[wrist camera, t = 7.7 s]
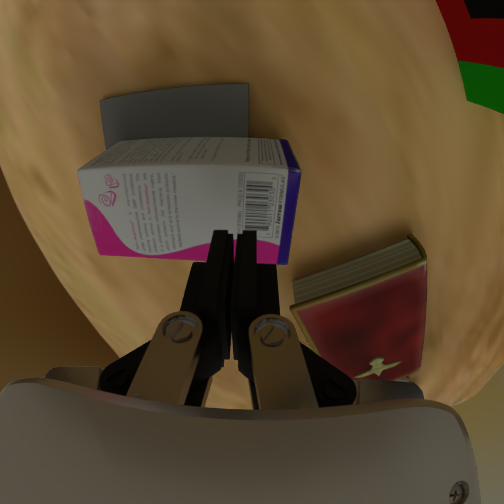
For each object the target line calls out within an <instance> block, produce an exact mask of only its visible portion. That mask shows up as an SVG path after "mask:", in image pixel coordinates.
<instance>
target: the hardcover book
mask: <svg viewBox="0 0 504 504" xmlns="http://www.w3.org/2000/svg"><path fill="white" fill-rule="evenodd" d="M292 282H293V290H294V297H295V304H294V305H291V306H290V310H291V312H292V314H293V316H294V318H295V319H296V321H297V323H298V325H299V326H300V328H301V330H302V332H303V333H304V335H305V337H306V339H307V340H308V342H309V344H310V346H311V347H312V349H313V351H314V352H315V353H316V354H318V355H319V356H320V357H322V358H323V359H325V360H326V361H328V362H329V363H330V364H332V365H333V366H335V367H336V368H338V369H339V370H341V371H342V372H343V373H345V374H346V375H348V376H349V377H350V378H351V379H352V380H360V378H366V379H377V380H389V381H395V380H398V379H401V378H403V377H406V376H408V375H411V374H413V373H416V372H418V371H420V366H421V359H422V351H423V342H424V332H425V320H426V302H427V255H426V253H425V250H424V248H423V247H422V245H421V243H420V242H419V241H418V240H417V239H416V238H415V237H414V236H413V235H412V234H410V235H408V239H406V240H404V241H401V242H399V243H396V244H394V245H391V246H388V247H386V248H383V249H381V250H378V251H375V252H373V253H370V254H367V255H365V256H362V257H359V258H357V259H354V260H351V261H349V262H346V263H343V264H340V265H337V266H335V267H332V268H329V269H326V270H323V271H321V272H318V273H315V274H312V275H309V276H306V277H303V278H301V279H298V280H295V281H292Z"/></svg>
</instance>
